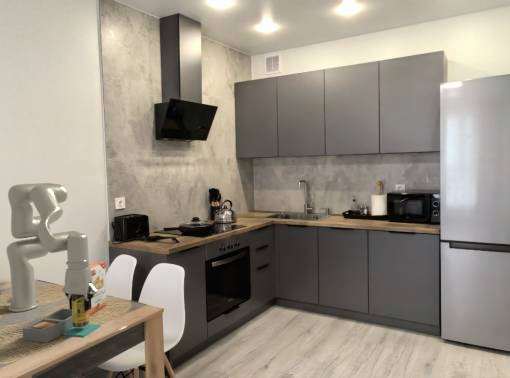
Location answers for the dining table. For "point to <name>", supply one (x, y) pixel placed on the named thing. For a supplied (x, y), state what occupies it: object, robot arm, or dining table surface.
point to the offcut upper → (44, 325)
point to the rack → (42, 335)
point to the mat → (81, 330)
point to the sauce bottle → (79, 311)
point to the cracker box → (98, 286)
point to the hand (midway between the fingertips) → (80, 308)
